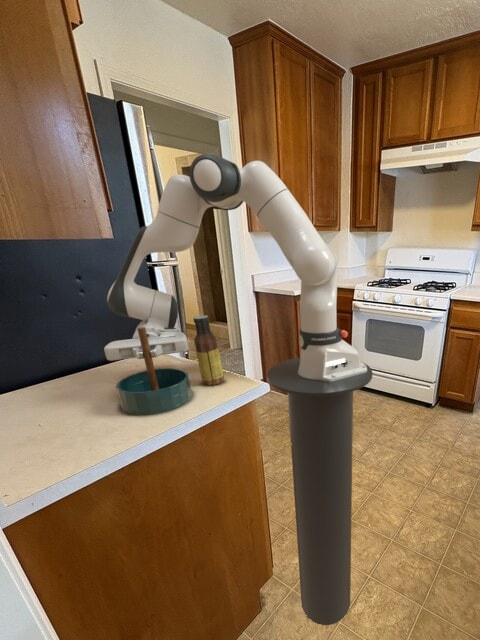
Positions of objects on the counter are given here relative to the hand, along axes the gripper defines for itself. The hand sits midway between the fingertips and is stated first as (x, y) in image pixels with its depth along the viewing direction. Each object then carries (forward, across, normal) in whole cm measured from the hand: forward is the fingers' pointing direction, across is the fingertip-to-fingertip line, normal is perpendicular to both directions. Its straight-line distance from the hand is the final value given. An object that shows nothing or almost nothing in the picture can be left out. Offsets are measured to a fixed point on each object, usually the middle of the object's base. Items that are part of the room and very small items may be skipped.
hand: (147, 355), depth 89 cm
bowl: (-1, 0, +13) cm, 13 cm away
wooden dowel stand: (-1, 0, +12) cm, 12 cm away
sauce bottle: (-8, +15, +13) cm, 21 cm away
